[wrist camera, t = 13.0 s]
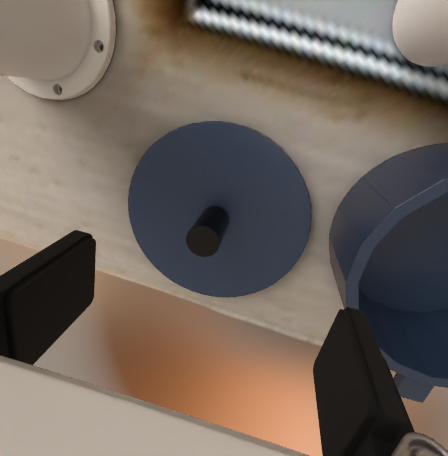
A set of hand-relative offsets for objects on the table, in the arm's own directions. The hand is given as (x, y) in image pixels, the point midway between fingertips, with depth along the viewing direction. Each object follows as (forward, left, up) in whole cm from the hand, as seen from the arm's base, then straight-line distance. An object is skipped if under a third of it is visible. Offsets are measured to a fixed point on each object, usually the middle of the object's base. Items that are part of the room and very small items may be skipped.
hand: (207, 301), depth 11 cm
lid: (-2, -5, -18) cm, 18 cm away
